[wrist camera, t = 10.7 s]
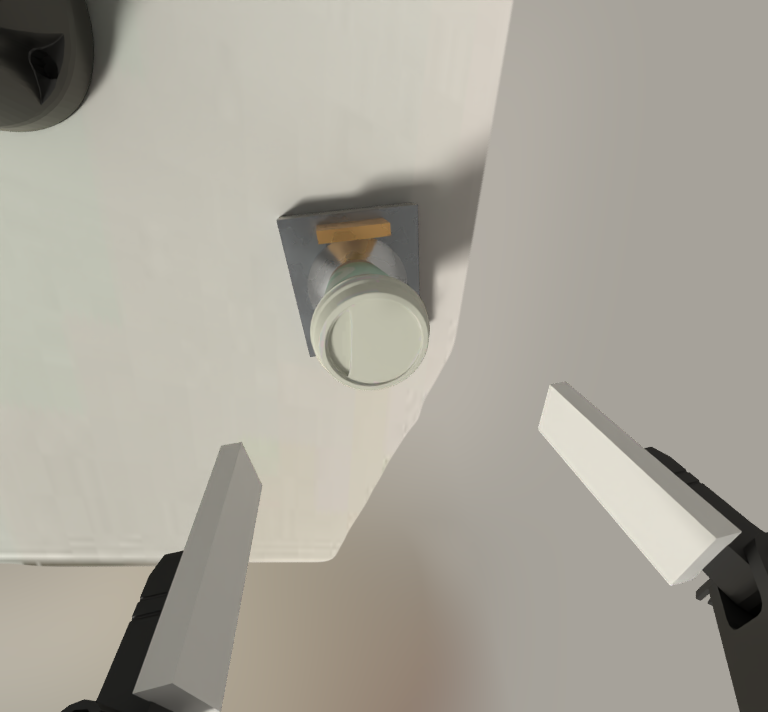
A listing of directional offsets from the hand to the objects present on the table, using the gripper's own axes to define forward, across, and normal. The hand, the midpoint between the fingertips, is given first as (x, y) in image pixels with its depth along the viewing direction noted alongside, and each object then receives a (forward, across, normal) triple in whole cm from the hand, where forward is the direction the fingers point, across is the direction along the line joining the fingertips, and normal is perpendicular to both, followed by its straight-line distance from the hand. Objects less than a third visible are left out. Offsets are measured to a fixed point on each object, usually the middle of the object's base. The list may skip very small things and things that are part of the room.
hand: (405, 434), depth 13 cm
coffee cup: (+20, 0, 0) cm, 21 cm away
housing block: (+23, 0, 0) cm, 23 cm away
